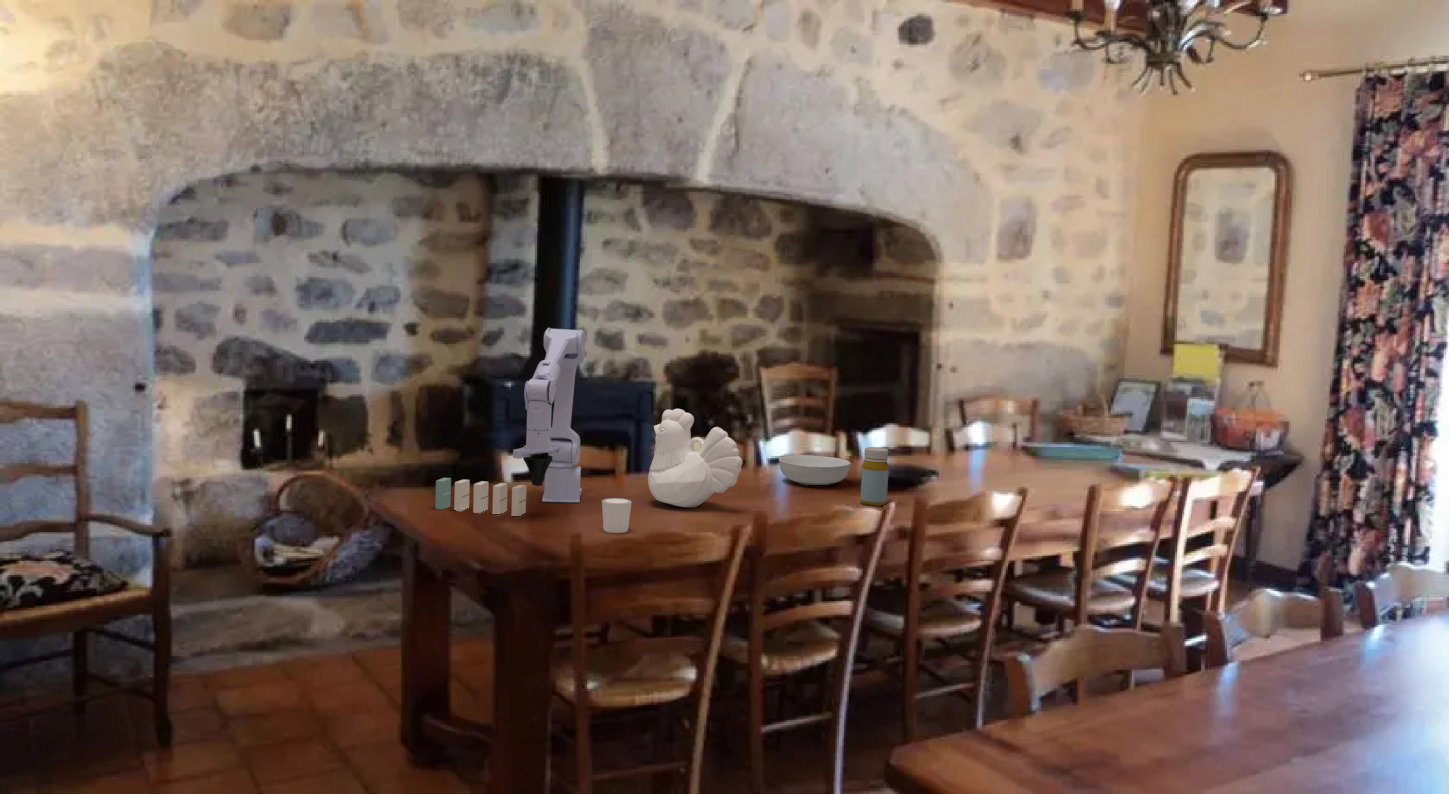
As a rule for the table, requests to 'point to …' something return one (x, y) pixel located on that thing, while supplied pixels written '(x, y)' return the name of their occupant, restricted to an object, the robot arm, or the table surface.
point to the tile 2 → (461, 495)
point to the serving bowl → (814, 469)
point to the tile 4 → (500, 498)
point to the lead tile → (518, 500)
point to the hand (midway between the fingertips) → (537, 485)
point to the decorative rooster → (690, 462)
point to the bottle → (874, 477)
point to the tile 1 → (443, 493)
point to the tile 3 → (480, 497)
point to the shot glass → (616, 514)
